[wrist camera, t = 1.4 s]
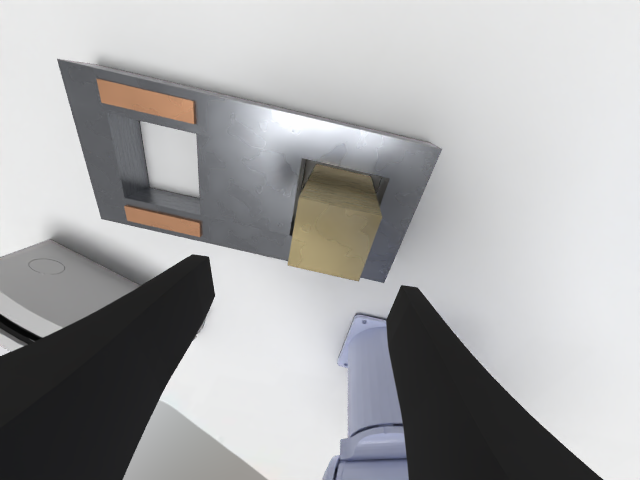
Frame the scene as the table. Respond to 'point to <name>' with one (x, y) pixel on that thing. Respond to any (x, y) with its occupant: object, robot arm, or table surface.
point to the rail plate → (234, 163)
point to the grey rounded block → (52, 291)
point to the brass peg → (335, 223)
